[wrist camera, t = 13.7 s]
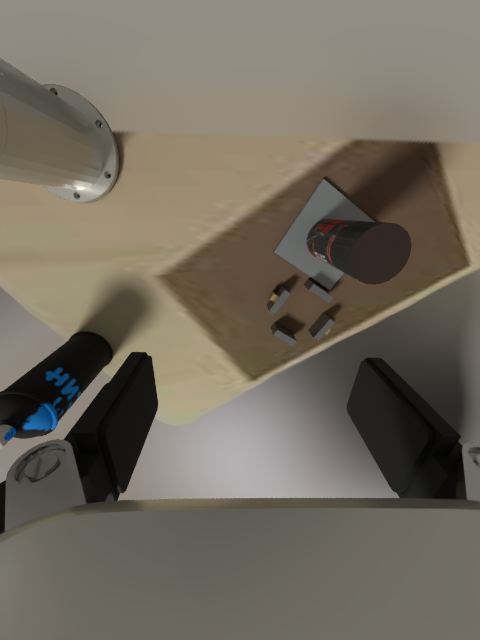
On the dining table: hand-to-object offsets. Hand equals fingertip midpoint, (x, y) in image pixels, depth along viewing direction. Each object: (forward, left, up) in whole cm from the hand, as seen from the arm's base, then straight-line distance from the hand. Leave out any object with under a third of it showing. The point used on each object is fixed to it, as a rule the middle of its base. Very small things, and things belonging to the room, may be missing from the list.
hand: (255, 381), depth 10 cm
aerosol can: (-15, -30, -31) cm, 45 cm away
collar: (+14, -2, -30) cm, 33 cm away
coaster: (+10, +10, -30) cm, 33 cm away
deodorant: (+10, +10, -30) cm, 33 cm away
